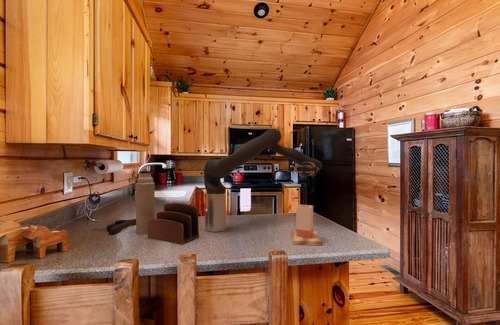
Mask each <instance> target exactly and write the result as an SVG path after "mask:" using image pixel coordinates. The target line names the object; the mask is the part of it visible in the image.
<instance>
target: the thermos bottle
mask: <svg viewBox="0 0 500 325" xmlns="http://www.w3.org/2000/svg"><path fill="white" fill-rule="evenodd" d="M155 184H156V183H155V182H154V178H153V177H152V172H151V170H141V171H139V177H138V178H137V182H136V183H135V219H136V224H135V227H136V228H135V229H136V230H135V233H136V234H141V235H145V234H147V235H148V221H149V220H150V219H156V214H155V213H156V210H155V209H156V207H155V206H156V205H155V204H156V203H155V199H156V198H155V197H156V193H155V192H156V190H155V188H156V187H155Z"/></svg>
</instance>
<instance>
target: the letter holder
mask: <svg viewBox="0 0 500 325" xmlns="http://www.w3.org/2000/svg"><path fill="white" fill-rule="evenodd" d="M155 213H156V214H155V219H150V220H149V221H148V233H147V237H148V238H150V239H154V240H159V241H164V242H169V243H174V244H180V245H185V244H187V243H190V242H192V241H194V240H197V239H198V238H200V229H199V225H200V223H199V208H198V207H197V206H195V205H192V204H189V203H179V202H167V203H164V204H163V210H162V211H161V210H160V211H159V210H158V211H157V212H155Z"/></svg>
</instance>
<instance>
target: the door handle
mask: <svg viewBox="0 0 500 325" xmlns="http://www.w3.org/2000/svg"><path fill="white" fill-rule="evenodd" d="M134 225H135V226H136V218H132V219H118V220H115V221H114V222H113V223H111V224H108V225H106V226H93V227H91V231H92V230H93V231H92V232H94V231H95V232H96V231H97V232H98V231H99V232H107V233H108V234H109V235H114V234H116V233H120V232H123V231H126V230H128V229H129V228H131V227H133V226H134Z"/></svg>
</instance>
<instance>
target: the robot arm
mask: <svg viewBox="0 0 500 325" xmlns="http://www.w3.org/2000/svg"><path fill="white" fill-rule="evenodd" d="M281 140H282V133H281V131H280V130H279V129H277V128H270V129H267V130H266V131H265V132H263V133H262V134H261V135H259V136H257V137H255V138H253V139H250V140H249V141H246V142H245V143H243V144H241V145H239V146H238V147H236V149H235V150H234V151H233V153H231V154H230V155H227V156H226V157H222V158H213V159H208V160H207V161H206V162H205V163H204V166H203V182H204V188H205V191H206V192H205V195H206V196H205V198H206V199H205V200H206V202H205V203H206V208H205V210H204V217H205V218H204V228H205V229H204V231H207V232H211V233H213V232H214V233H217V232H224V231H226V230H227V187H226V186H225V185H224V184H223V183H222V180H221V179H224V178H226V177H228V176H229V175H230V174H232V173H233V172H234V171H235V170H236V169H238V168H239V167H241V166H243V165H245V164H246V163H248V162H250V161H252V160H253V159H255V158H256V157H258V156H259V155H260V154H261V153H262V152H263V151H264V150H265V149H268V150H270V151H272V152H274V153H277V154H279V155H280V156H282V157H284V158H285V157H286V158H287V159H288V160H291V161H292V162H294V163H295V164H297V165H295V166H293V165H292V166H288V167H287V171H288V172H289V173H292V172H294V173H297V174H298V173H299V174H300V175H301V176H304V177H308V176H310V177H315V176H316V175H317V174H318V173H319V171H320V170H321V169H322V168H323V163H322V161H320V160H318V159H316V158H313V157H310V156H307V155H306V154H305V153H303V152H302V151H300V150H298V149H296V148H290V147H286V146H284V145H283V146H282V145H280V144H279V143H280V141H281Z"/></svg>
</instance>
